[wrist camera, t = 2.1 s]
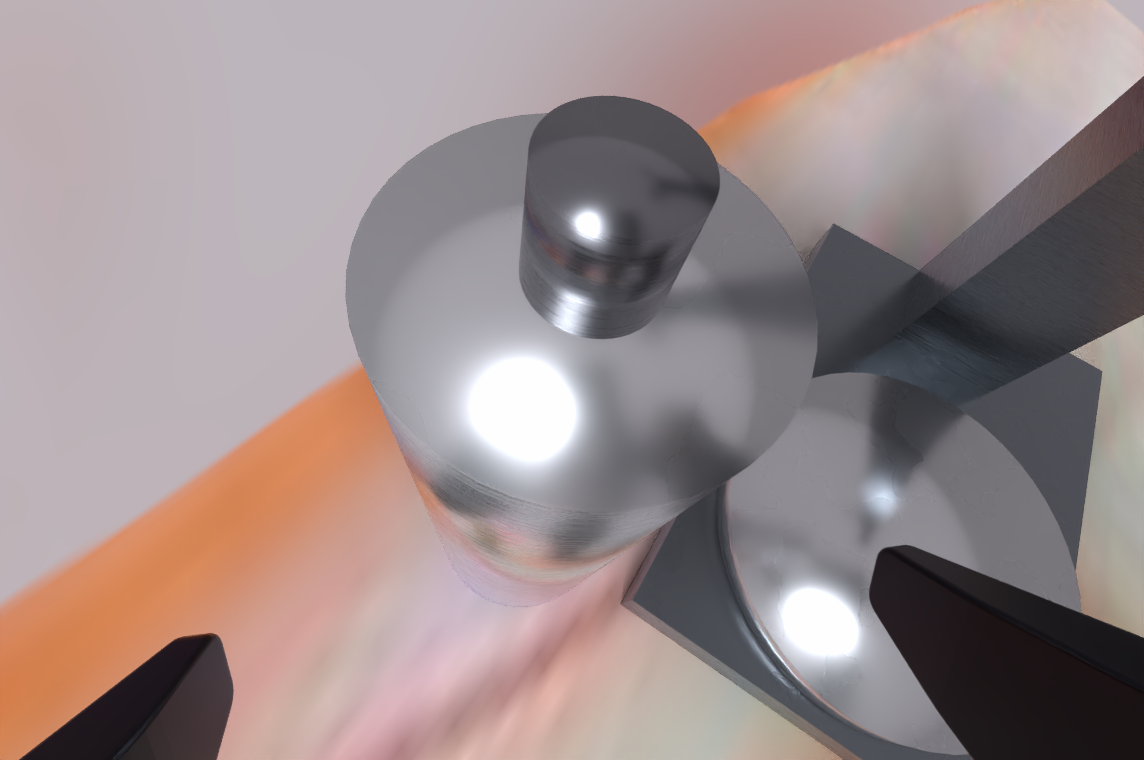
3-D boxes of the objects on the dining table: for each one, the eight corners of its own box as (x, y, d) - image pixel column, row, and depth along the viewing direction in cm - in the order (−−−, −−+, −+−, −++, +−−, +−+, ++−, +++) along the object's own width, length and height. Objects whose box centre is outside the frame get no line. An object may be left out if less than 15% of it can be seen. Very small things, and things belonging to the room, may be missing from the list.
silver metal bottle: (616, 587, 17) (1036, 393, 4) (453, 624, 16) (299, 525, 3) (580, 437, 19) (782, -12, 6) (434, 461, 18) (295, -27, 5)
